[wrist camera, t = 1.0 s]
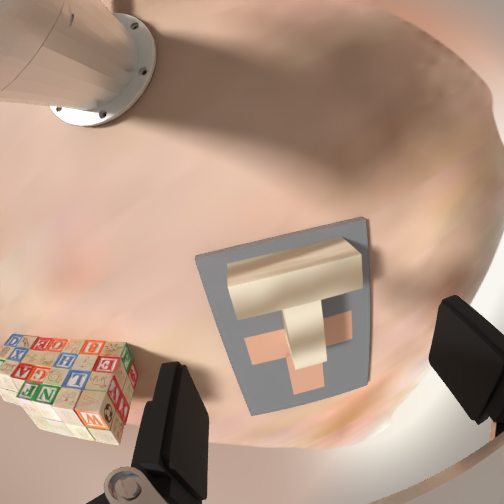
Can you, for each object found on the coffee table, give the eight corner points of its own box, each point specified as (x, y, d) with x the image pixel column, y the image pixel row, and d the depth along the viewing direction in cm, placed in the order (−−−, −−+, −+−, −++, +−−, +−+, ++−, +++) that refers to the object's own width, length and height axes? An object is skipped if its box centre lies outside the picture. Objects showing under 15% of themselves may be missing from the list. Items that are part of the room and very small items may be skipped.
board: (195, 255, 30) (194, 259, 29) (361, 216, 30) (365, 219, 29) (250, 411, 39) (251, 416, 38) (365, 380, 39) (367, 385, 38)
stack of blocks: (27, 363, 34) (-4, 414, 22) (12, 332, 32) (-27, 382, 20) (139, 375, 35) (120, 447, 24) (127, 340, 33) (99, 414, 22)
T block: (227, 263, 29) (227, 287, 25) (341, 236, 29) (361, 254, 25) (251, 349, 33) (255, 378, 29) (348, 324, 33) (363, 349, 29)
